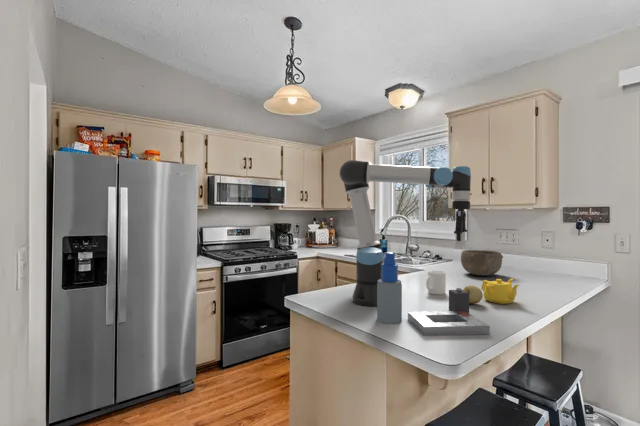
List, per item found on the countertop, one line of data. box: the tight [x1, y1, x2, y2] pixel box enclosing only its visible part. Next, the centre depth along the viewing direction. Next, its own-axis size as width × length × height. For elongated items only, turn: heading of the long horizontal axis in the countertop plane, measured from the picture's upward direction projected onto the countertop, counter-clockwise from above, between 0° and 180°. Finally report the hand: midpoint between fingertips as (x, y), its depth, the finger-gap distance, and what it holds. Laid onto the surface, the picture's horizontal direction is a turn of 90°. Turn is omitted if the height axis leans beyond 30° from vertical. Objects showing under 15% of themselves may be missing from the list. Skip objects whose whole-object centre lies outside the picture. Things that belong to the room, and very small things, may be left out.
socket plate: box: [407, 310, 491, 337], centre depth 116 cm, size 22×16×4 cm
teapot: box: [480, 278, 520, 305], centre depth 149 cm, size 14×13×10 cm
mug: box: [425, 270, 447, 296], centre depth 163 cm, size 12×8×10 cm
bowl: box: [460, 249, 504, 276], centre depth 210 cm, size 24×24×15 cm
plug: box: [448, 287, 470, 314], centre depth 130 cm, size 6×6×10 cm
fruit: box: [462, 284, 484, 305], centre depth 145 cm, size 8×8×8 cm
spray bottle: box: [376, 251, 403, 325], centre depth 123 cm, size 9×9×25 cm
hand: (460, 247), depth 152 cm, fingers open, 13 cm apart
